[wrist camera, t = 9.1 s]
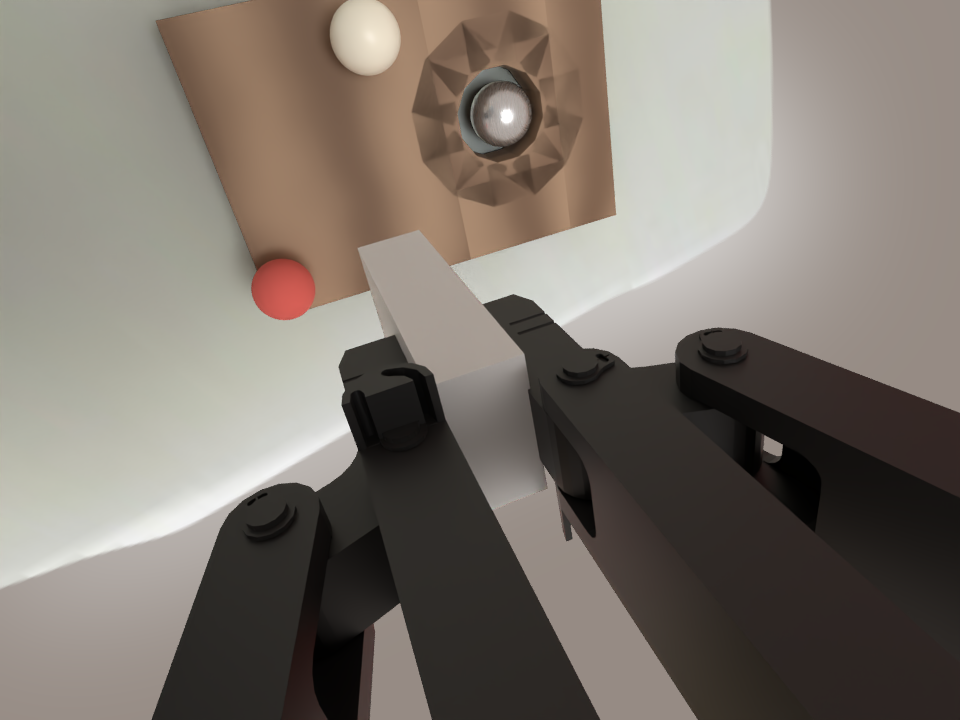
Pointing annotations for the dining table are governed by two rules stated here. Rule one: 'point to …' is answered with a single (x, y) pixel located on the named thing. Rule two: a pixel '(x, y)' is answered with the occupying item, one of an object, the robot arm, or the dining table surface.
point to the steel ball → (501, 113)
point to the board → (395, 128)
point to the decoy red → (283, 289)
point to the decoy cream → (365, 36)
